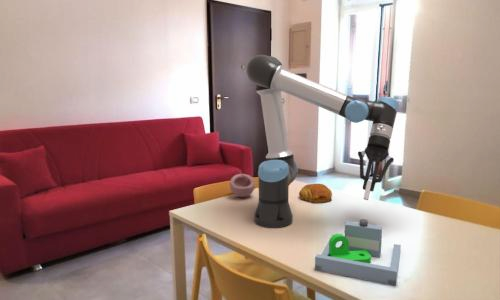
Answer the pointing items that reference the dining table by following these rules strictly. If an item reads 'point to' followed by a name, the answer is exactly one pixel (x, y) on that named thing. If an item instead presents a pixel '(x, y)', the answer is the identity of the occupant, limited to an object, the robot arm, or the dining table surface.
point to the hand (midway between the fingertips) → (365, 199)
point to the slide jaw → (364, 237)
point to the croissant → (315, 193)
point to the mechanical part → (346, 250)
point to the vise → (359, 267)
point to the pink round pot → (242, 185)
